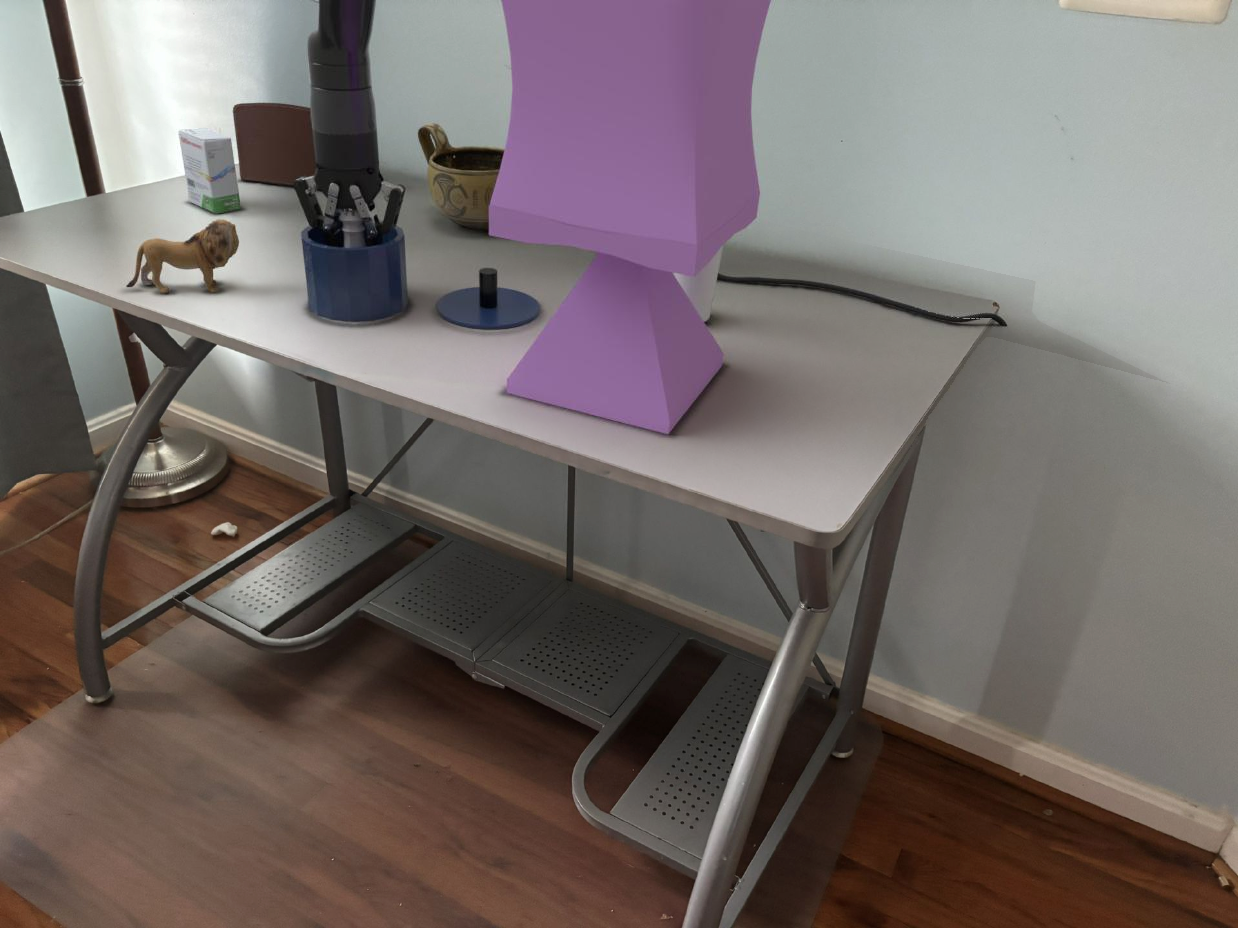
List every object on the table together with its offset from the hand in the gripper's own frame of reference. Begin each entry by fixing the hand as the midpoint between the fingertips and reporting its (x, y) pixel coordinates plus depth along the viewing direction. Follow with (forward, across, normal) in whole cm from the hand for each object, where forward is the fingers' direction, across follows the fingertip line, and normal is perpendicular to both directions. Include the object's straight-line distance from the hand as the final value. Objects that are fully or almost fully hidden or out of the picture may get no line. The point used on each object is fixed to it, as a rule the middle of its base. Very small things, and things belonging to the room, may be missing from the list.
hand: (355, 260), depth 124 cm
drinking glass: (+7, -44, -7) cm, 45 cm away
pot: (+6, 0, 0) cm, 6 cm away
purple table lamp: (+6, -36, +14) cm, 39 cm away
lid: (+6, -17, -2) cm, 18 cm away
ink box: (+6, +36, -36) cm, 51 cm away
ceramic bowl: (+7, -8, -39) cm, 40 cm away
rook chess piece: (+1, 0, 0) cm, 1 cm away
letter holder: (+7, +28, -55) cm, 62 cm away
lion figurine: (+6, +24, -1) cm, 24 cm away
